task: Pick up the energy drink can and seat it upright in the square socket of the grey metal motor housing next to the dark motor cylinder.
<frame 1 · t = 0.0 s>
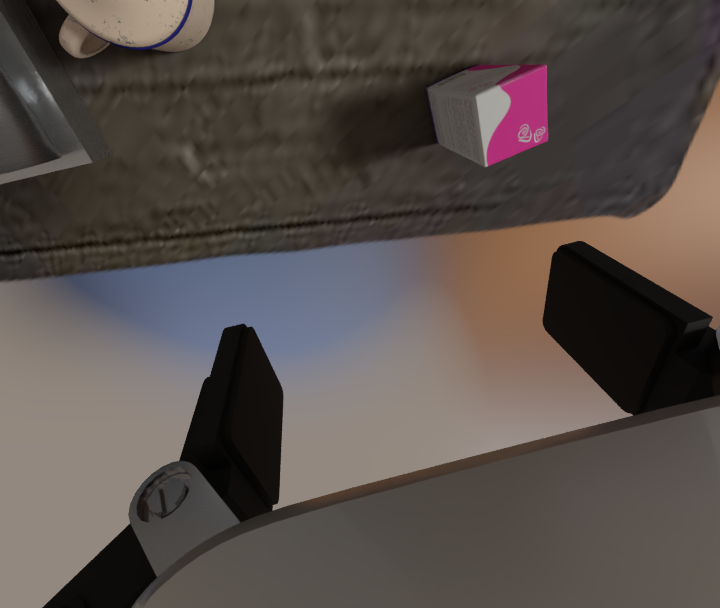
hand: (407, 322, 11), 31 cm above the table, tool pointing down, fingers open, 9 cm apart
supplement box: (456, 106, 36), on the table
teacup with lid: (148, 1, 28), on the table
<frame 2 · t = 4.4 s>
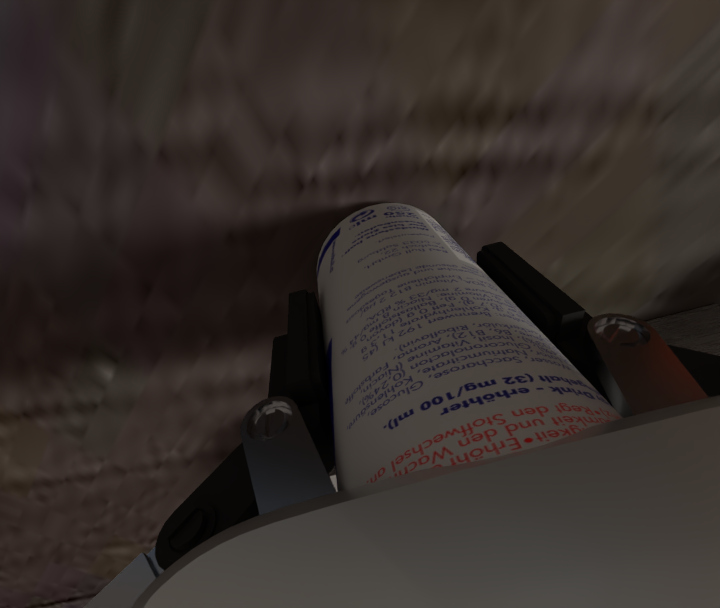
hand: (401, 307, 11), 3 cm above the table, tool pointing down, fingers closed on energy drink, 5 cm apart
energy drink: (381, 263, 14), on the table, touching gripper
motor housing: (507, 423, 21), on the table
when the fingers open (8 cm above the table, at t = 9.4 s): energy drink moves 1 cm, resting on motor housing.
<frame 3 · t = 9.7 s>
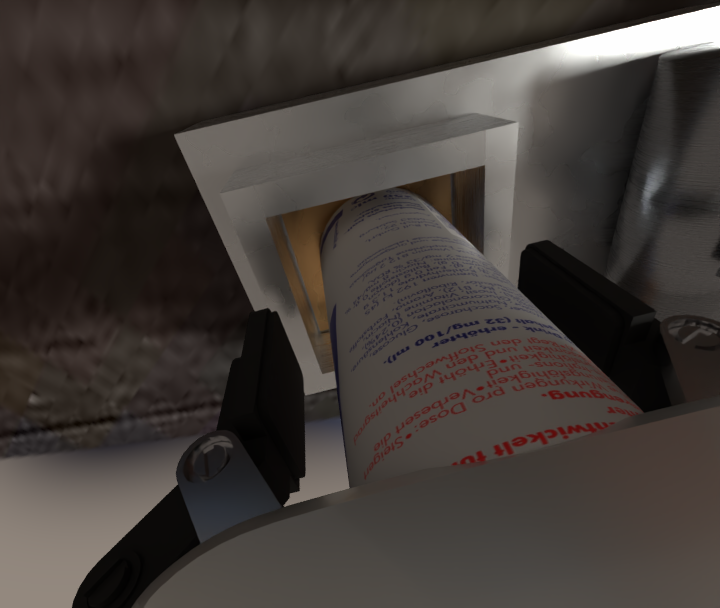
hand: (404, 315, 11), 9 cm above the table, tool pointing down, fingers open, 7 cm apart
energy drink: (380, 246, 15), point 4 cm above the table, touching motor housing
motor housing: (452, 197, 18), on the table
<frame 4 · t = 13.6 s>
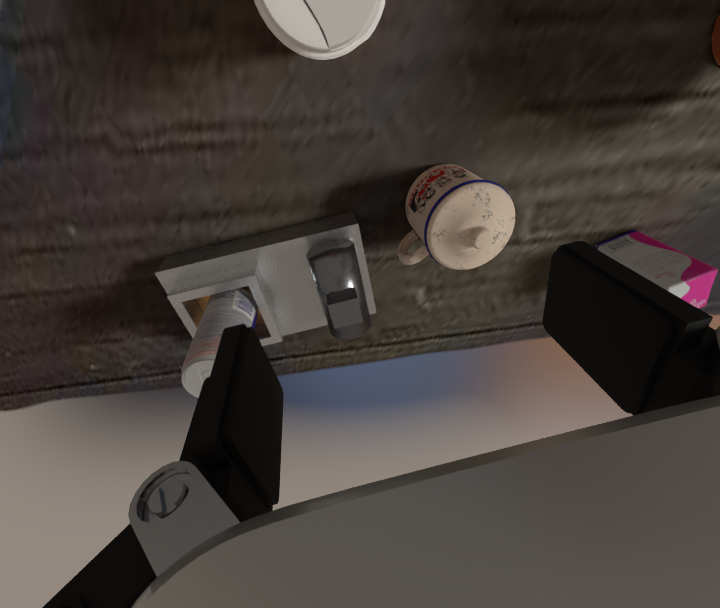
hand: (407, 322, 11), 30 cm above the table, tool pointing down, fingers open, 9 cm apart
energy drink: (234, 303, 39), point 4 cm above the table, touching motor housing
supplement box: (612, 253, 49), on the table
paper cup: (311, 10, 30), on the table
teacup with lid: (429, 208, 41), on the table
motor housing: (277, 277, 43), on the table
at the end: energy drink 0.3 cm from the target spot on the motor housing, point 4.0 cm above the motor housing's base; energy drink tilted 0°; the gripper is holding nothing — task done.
